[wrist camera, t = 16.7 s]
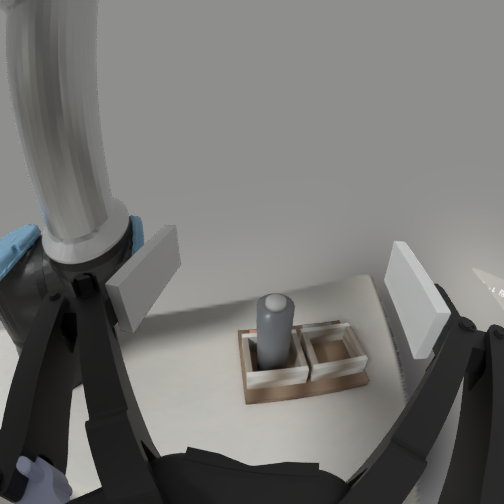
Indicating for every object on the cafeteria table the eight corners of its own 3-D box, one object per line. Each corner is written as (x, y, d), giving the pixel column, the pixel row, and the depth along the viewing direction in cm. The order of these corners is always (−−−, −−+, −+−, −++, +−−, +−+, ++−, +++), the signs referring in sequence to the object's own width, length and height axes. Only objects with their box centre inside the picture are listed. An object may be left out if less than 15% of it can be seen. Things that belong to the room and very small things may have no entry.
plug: (257, 377, 36) (257, 314, 29) (256, 353, 40) (255, 289, 33) (288, 375, 36) (297, 312, 29) (285, 352, 40) (292, 287, 33)
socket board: (245, 404, 33) (245, 389, 31) (237, 334, 45) (237, 317, 43) (367, 384, 35) (375, 368, 33) (338, 324, 47) (342, 307, 45)
